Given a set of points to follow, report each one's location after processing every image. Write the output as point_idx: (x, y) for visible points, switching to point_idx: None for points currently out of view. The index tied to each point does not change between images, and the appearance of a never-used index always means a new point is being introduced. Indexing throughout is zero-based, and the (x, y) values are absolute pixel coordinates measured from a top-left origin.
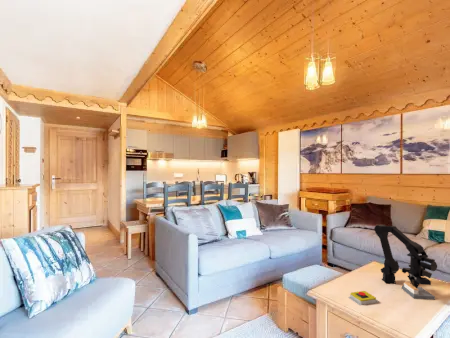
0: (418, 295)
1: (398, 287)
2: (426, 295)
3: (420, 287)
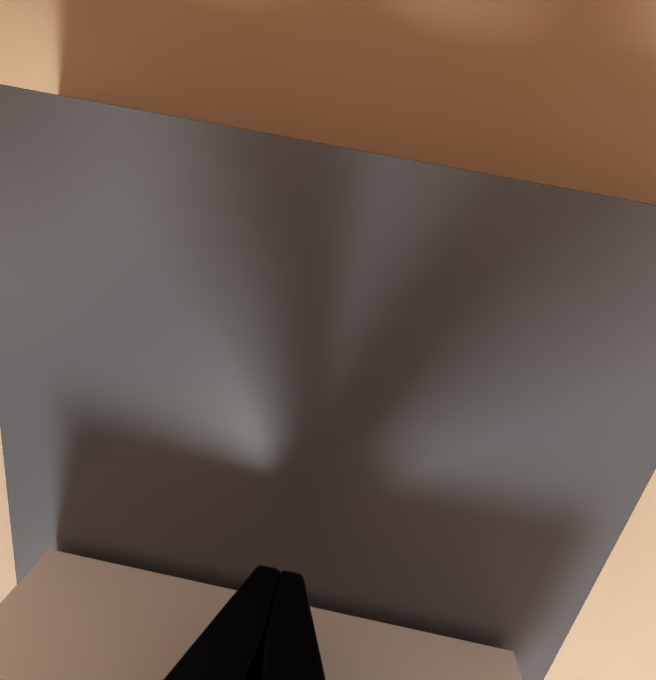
0: (548, 669)
1: (13, 573)
2: (610, 470)
3: (10, 147)
